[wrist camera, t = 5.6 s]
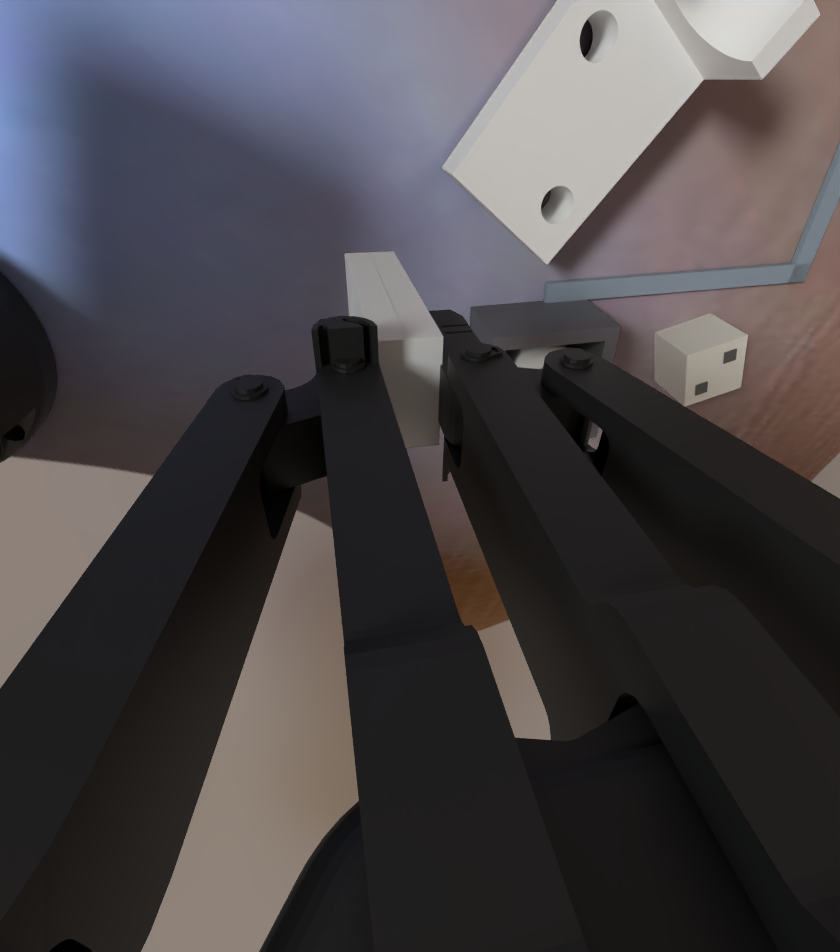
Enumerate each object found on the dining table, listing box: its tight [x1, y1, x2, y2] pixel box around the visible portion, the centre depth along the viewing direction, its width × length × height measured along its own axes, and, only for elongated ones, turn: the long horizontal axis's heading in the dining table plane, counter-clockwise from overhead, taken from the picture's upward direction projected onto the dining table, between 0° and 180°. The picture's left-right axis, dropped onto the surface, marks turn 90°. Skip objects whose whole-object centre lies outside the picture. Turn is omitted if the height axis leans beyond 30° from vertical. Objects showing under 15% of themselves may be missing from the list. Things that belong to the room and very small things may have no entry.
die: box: [654, 313, 748, 407], centre depth 36 cm, size 4×4×4 cm
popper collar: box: [470, 300, 621, 438], centre depth 33 cm, size 8×8×5 cm
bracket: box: [442, 0, 820, 264], centre depth 24 cm, size 13×7×8 cm, turn 142°
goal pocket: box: [543, 143, 840, 303], centre depth 28 cm, size 18×19×1 cm
